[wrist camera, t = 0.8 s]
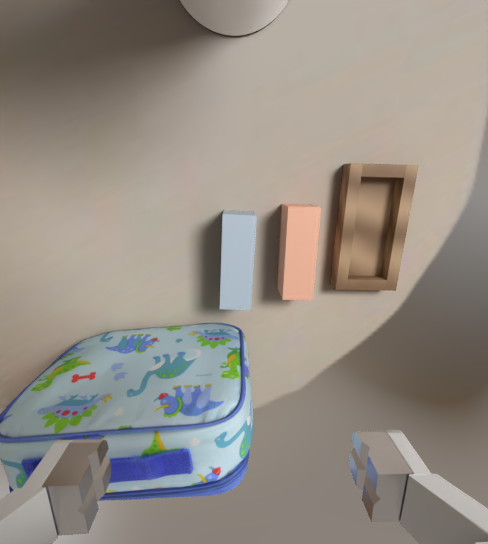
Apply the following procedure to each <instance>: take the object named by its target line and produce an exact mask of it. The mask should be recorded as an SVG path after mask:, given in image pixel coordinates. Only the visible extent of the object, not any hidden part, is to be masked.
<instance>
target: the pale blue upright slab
mask: <svg viewBox="0 0 488 544" xmlns="http://www.w3.org/2000/svg"><path fill="white" fill-rule="evenodd" d="M256 220H257V215H256V214H255V213H254V211H237V210H224V212H223V216H222V249H221V282H220V309H230V310H251V300H252V284H253V268H254V252H255V236H256Z"/></svg>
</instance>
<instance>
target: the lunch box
mask: <svg viewBox="0 0 488 544" xmlns="http://www.w3.org/2000/svg"><path fill="white" fill-rule="evenodd" d="M252 432H253V406H252V392H251V379H250V368H249V357H248V352H247V346H246V340H245V336H244V333H243V332H242V330H241V329H239V328H238V327H236V326H233V325H229V324H223V323H204V324H196V325H187V326H177V327H162V328H146V329H133V330H122V331H113V332H108V333H104V334H101V335H98V336H95V337H91V338H88V339H85V340H82V341H81V342H79V343H78V344H76V345H74V346H72V347H71V348H70V349H68V350H67V351H66V352H65V353H63V354H62V355H61V356H60V357H59V358H58V359H56V360H55V361H54V362H53V363H52V364H51V365H50V366H49V367H48V368H47V369H46V370H45V371H44V372H43V373H42V374H41V375H40V376H38V377H37V378H36V379H35V380H34V381H33V382H32V383H31V384H29V385H28V386H27V387H26V388H25V389H24V390H23V391H22V392H21V393H20V394H19V395H18V396H17V397H16V398H15V399H14V400H13V401H12V402H11V403H10V404H9V405H8V406H7V408H6V409H5V410H4V411H3V412H2V413H1V414H0V459H1V462H2V464H3V466H4V469H5V472H6V475H7V478H8V481H9V484H10V486H9V489H10V493H11V492H12V491H13V490H15V489H16V488H22V487H23V485H24V484H25V483H26V481H27V480H28V478H29V477H30V476H31V474H32V473H33V471H34V470H35V469H36V467H37V466H38V464H39V463H40V462H41V460H42V459H43V457H44V456H45V455H46V453H47V452H48V450H49V449H50V448H51V446H52V445H53V444H54V443H55V442H56V441H58V440H106V441H107V443H108V448H109V449H108V451H107V453H106V456H107V457H108V458H109V459H110V460H111V476H110V481H109V485H108V488H107V490H106V492H105V494H104V495H103V496H102V497H101V498H100V499H99V500H127V499H129V500H130V499H149V498H164V497H165V498H166V497H185V496H186V497H187V496H211V495H217V494H222V493H225V492H227V491H229V490H231V489H233V488H234V487H236V486H237V485H238V484H239V483H240V481H241V480H242V478H243V476H244V475H245V472H246V470H247V464H248V458H249V448H250V446H251V442H252ZM99 500H98V501H99Z"/></svg>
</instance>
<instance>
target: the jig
mask: <svg viewBox="0 0 488 544" xmlns="http://www.w3.org/2000/svg"><path fill="white" fill-rule="evenodd" d="M417 171H418V165H391V164H357V163H350V164H344V165H343V173H342V182H341V191H340V199H339V208H338V217H337V226H336V234H335V243H334V252H333V261H332V270H331V278H330V284H331V285H332V286H333V287H334V288H335V290H395V291H396V286H397V281H398V275H399V270H400V264H401V259H402V253H403V248H404V242H405V237H406V231H407V226H408V220H409V215H410V209H411V204H412V198H413V193H414V187H415V182H416V176H417Z"/></svg>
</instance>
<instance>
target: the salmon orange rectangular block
mask: <svg viewBox="0 0 488 544" xmlns="http://www.w3.org/2000/svg"><path fill="white" fill-rule="evenodd" d="M320 215H321V207H318V206H315V205H307V204H282V212H281V230H280V249H279V267H278V285H277V288H278V290H279V293H280V295H281V297H282V300H313V291H314V281H315V270H316V259H317V248H318V237H319V226H320Z"/></svg>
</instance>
